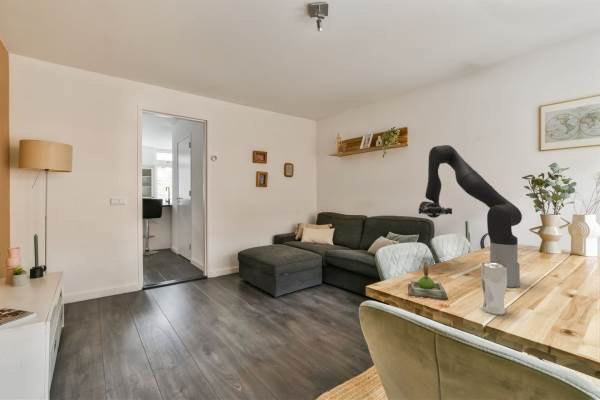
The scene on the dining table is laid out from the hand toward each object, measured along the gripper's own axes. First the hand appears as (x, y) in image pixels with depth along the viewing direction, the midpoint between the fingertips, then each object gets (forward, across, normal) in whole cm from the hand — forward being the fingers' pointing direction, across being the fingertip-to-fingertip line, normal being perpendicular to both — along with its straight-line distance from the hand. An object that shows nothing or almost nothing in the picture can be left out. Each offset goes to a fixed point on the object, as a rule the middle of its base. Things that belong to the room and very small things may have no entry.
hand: (436, 211), depth 125 cm
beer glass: (+34, +13, +30) cm, 47 cm away
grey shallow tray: (+23, -6, +30) cm, 38 cm away
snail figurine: (+23, -6, +29) cm, 38 cm away
